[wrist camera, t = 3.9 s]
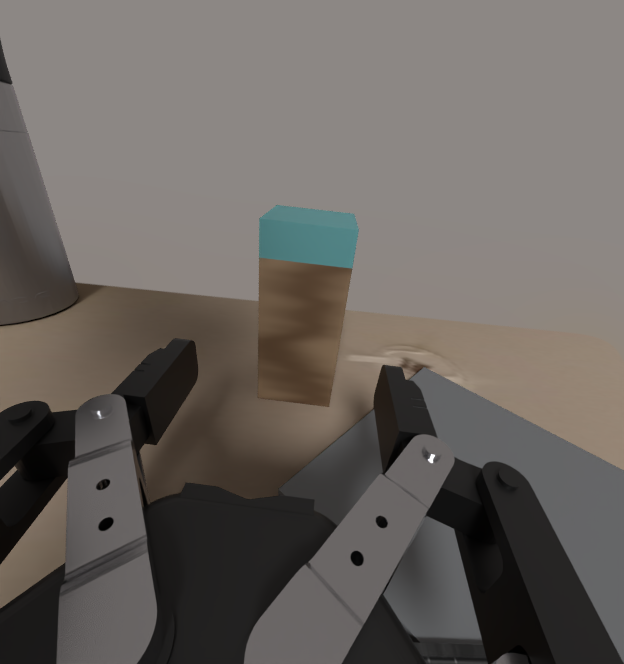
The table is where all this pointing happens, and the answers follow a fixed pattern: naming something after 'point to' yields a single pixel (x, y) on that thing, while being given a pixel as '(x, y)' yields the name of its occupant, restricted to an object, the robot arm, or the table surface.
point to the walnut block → (302, 300)
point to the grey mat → (440, 540)
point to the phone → (452, 653)
